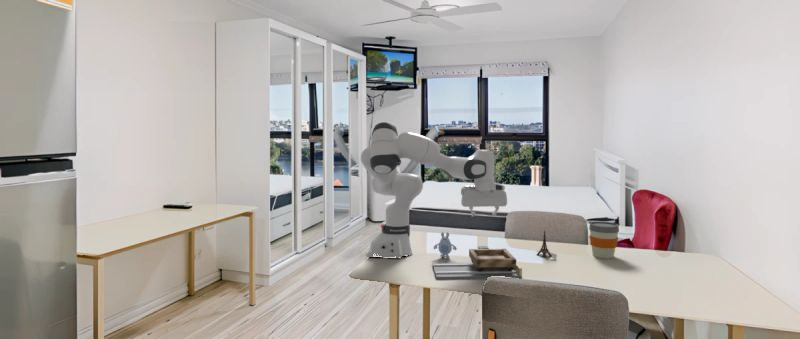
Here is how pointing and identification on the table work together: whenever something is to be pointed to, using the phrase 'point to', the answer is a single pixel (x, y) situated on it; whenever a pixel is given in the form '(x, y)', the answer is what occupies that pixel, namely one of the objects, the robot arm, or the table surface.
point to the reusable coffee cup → (603, 238)
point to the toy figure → (445, 245)
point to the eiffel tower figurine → (546, 251)
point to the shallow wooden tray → (492, 258)
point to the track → (472, 271)
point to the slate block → (483, 247)
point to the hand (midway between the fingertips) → (483, 216)
